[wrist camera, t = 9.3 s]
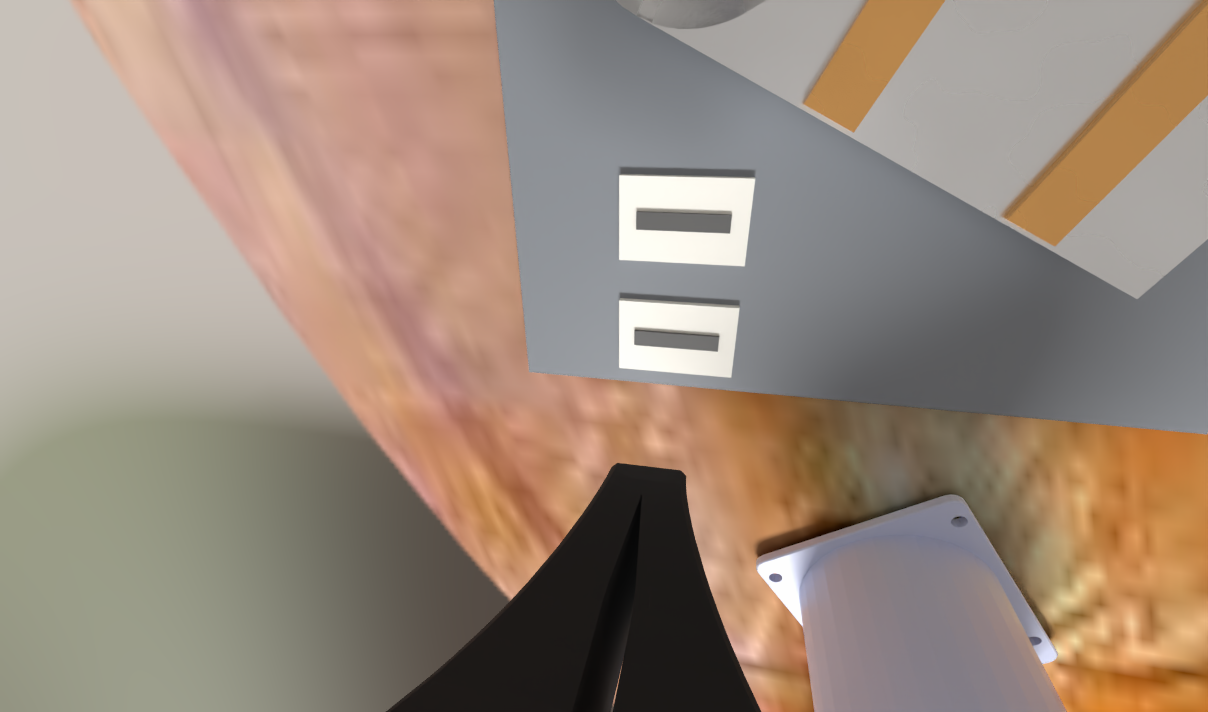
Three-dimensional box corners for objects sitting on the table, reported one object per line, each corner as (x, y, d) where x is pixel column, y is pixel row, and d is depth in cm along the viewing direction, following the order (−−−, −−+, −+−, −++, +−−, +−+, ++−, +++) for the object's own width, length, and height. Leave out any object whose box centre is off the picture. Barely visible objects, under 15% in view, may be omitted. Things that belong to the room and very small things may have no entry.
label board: (1606, -261, 9) (1727, -304, 8) (1181, 413, 16) (1215, 440, 15) (493, -160, 13) (471, -181, 11) (537, 358, 19) (526, 376, 18)
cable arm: (549, -35, 12) (521, -50, 11) (652, -347, 10) (637, -432, 8) (1094, 273, 13) (1149, 306, 11) (1321, 65, 11) (1437, 66, 9)
